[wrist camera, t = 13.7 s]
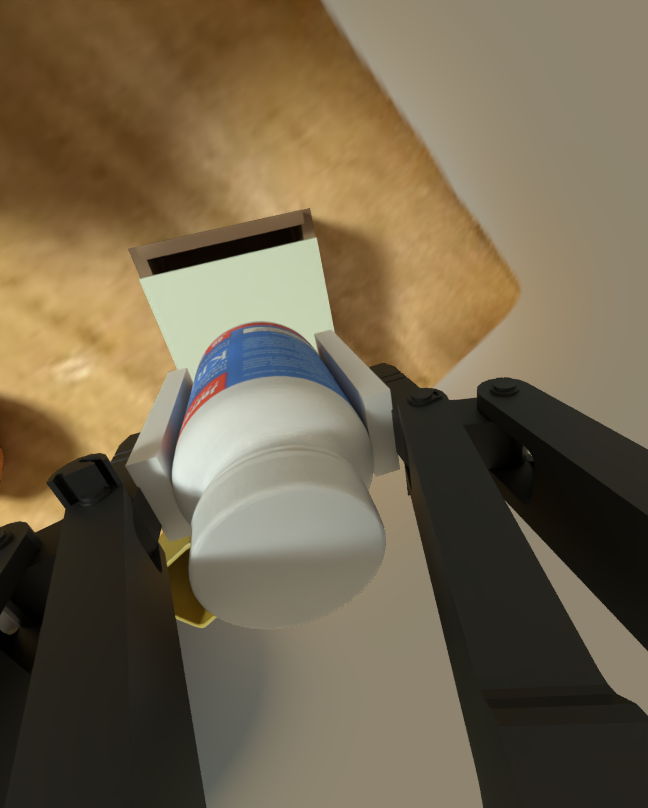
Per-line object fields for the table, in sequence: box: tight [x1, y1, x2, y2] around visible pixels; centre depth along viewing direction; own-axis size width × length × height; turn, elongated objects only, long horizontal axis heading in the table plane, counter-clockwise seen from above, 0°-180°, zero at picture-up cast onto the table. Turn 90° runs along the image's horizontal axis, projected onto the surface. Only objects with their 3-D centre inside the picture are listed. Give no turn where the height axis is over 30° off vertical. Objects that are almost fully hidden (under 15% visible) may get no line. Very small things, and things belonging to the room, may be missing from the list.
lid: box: [139, 237, 335, 383], centre depth 26 cm, size 13×12×3 cm
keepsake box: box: [128, 208, 316, 278], centre depth 29 cm, size 14×12×8 cm
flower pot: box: [158, 532, 216, 628], centre depth 38 cm, size 9×9×9 cm
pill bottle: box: [172, 321, 386, 629], centre depth 11 cm, size 6×5×10 cm
